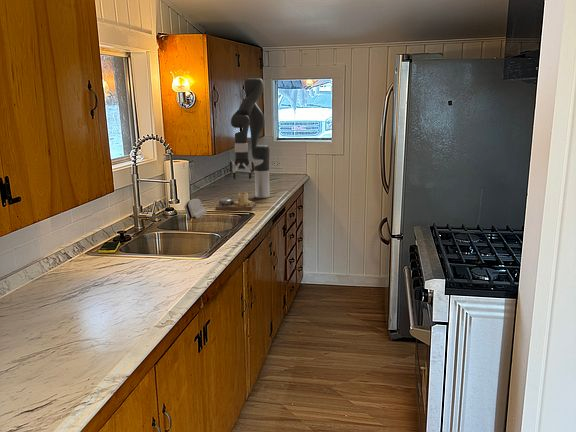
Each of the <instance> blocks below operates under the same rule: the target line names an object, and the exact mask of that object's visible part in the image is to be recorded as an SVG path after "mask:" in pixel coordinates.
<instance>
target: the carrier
mask: <svg viewBox="0 0 576 432" xmlns="http://www.w3.org/2000/svg"><path fill="white" fill-rule="evenodd" d="M252 202H253V205H250V206H249V205H248V206H236V205H234V204H233V205H229V206H228V205H227V206H224V205H222V206H221V205H219V203H218V204H217V205H215V206H214V208H215V209H214V210H215V211H253V209H254V208H255V207H256V201H252Z"/></svg>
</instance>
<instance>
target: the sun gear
mask: <svg viewBox="0 0 576 432" xmlns="http://www.w3.org/2000/svg"><path fill="white" fill-rule="evenodd" d="M234 202H235V201H234V199H232V198H222V199H218V204H219V205H221V206H222V205H224V206H227V205H228V206H229V205H233V204H234Z"/></svg>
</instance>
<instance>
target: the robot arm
mask: <svg viewBox="0 0 576 432" xmlns="http://www.w3.org/2000/svg"><path fill="white" fill-rule="evenodd" d="M243 83H244V84H243V87H244V94H245V98H244V99H243V100H242V102H241V103H240V105H239V108H238V109H237V110H236V111H235V112H234V114H232V116H231V119H230V125H231V126H232V127H233V128H234V129H241V130H240V131H237V132H235V133H234V161H233V160H231V161H229V172H230V173H232V177H233V179H234V180H237V170H238V169H239V170H241V169H243V170H244V169H245V170H246V171H247V172H248V180H251V179H252V178H253V175H252V174H253V173H254V187H255V188H254V191H255V192H254V193H255V198H259V199H261V198H262V199H263V198H265V199H266V198H270V197H271V196H270V195H271V194H270V192H271V191H270V148H269V145H266V144H258V139H259V137H260V135H261V133H262V131H263V129H264V128H265V117H264V113H263V111H262V110H261V109H260V107H259V106H258V104H257V101H258V100H259V99H260V97H261V95H262V94H263V92H264V90H265V89H264V88H265V84H264V80H263V79H262V78H252V77H251V78H250V77H248V78H245V79H244V82H243ZM249 130H250V142H251V146H250V147H251V156H252V159H253V160H252V161H250V160H249V146H248V134H249V133H248V132H249ZM254 160H256V161H258V160H260V161H262V163H260V164H257V165H255V161H254ZM233 165H235V168H233ZM249 165H250V166H251V168H250V166H249Z"/></svg>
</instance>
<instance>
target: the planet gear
mask: <svg viewBox="0 0 576 432" xmlns="http://www.w3.org/2000/svg"><path fill="white" fill-rule="evenodd" d="M237 195H238V196H237V198H238V200H236V201H234V205H236V206H248V205H249V206H250V205H253V202H254V201H252V200H249V194H248V192H238V194H237Z"/></svg>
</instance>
